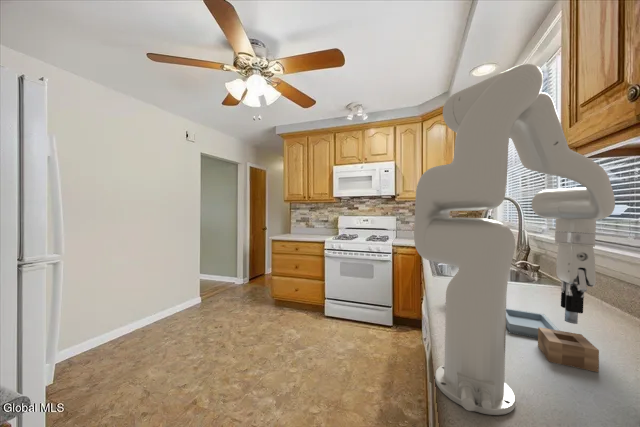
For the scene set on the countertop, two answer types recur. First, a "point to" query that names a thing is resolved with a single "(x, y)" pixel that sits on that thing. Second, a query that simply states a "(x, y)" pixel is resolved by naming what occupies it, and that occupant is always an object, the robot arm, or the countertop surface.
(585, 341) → the bore block
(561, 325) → the countertop surface
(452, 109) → the robot arm
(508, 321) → the tray
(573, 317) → the pin
